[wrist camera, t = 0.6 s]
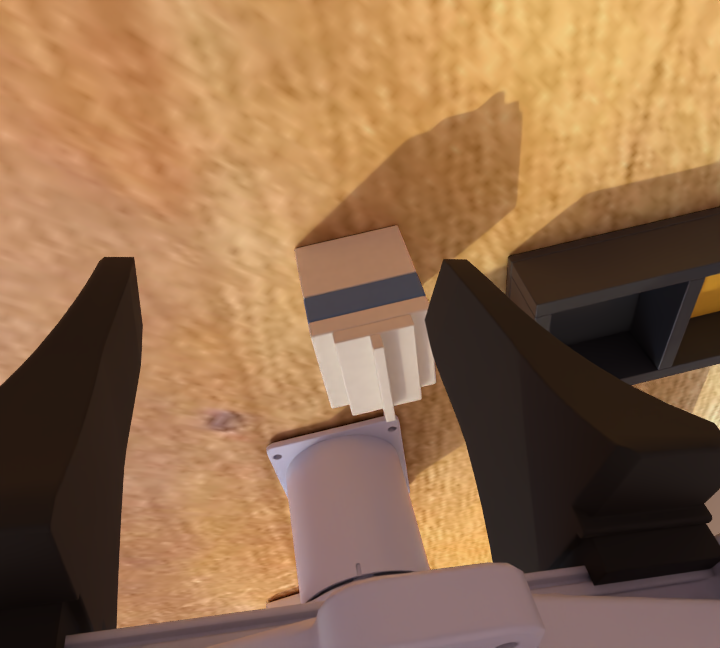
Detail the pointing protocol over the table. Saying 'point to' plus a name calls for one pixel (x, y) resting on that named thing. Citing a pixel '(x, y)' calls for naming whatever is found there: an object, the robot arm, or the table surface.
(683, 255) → the compartment tray
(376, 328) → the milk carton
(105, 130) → the table surface
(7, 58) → the table surface
